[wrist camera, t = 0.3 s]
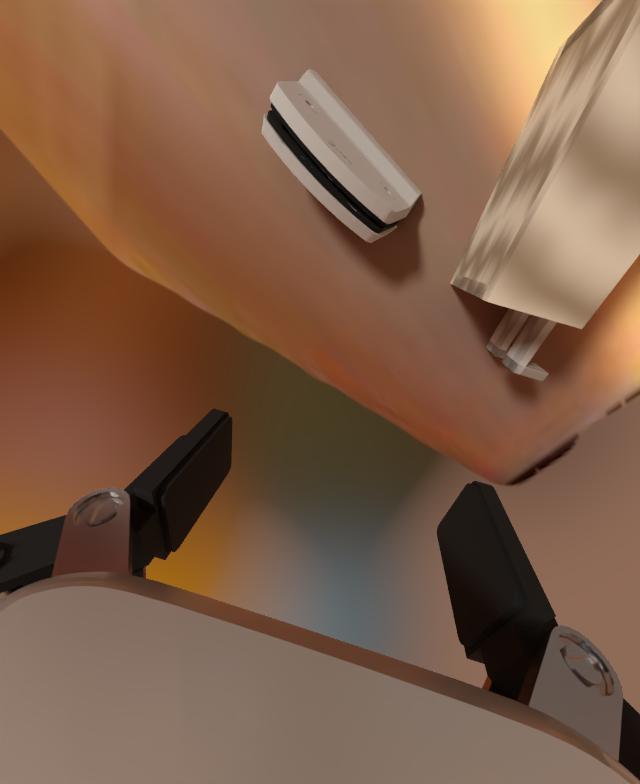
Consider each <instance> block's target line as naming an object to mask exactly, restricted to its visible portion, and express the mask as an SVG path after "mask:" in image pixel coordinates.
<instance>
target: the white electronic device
mask: <svg viewBox="0 0 640 784" xmlns="http://www.w3.org/2000/svg"><path fill="white" fill-rule="evenodd" d="M270 100H271V102H272V103H271V108H272V110H271V111H269V112H268V113H267V114H264V119H263V126H262V134H263V136H264V137H265V139H266V140H267V141H268V143H269V144H270V146H271V147H272V148H273V149H274V151H275V152H276V153H277V155H278V156H279V157H280V158H281V160H282V161H283V162H284V163H285V164H286V166H287V167H288V168H289V169H290V170H291V172H292V173H293V174H294V175H295V176H296V177H297V178H298V179H299V181H300V182H301V183H302V184H303V185H304V186H305V187H306V188H307V189H308V190H309V191H310V192H311V193H312V194H313V195H314V196H315V197H316V198H317V199H318V200H319V201H320V202H321V203H322V204H323V205H324V206H325V207H326V208H327V209H328V210H329V211H330V212H331V213H332V214H334V215H335V216H336V217H337V218H338V219H339V220H340V221H341V222H343V223H344V224H345V225H346V226H347V227H348V228H350V229H351V230H352V231H353V232H355V233H356V234H357V235H358V236H360V237H361V238H362V239H363V240H365V241H366V242H368V243H372V242H374V241H376V240H378V239H380V238H382V237H384V236H386V235H388V234H389V233H391V232H392V231H393V230H394V229H396V228H397V227H398V226H397V225H396V224H397V223H398V220H400V219H403V218H405V217H407V215H408V213H409V212H410V210H411V209H412V207H413V205H414V204H415V202H416V201H417V199H418V198H419V197H420V195H421V191H420V190H419V189H418V188H417V187H416V186H415V185H414V183H413V182H412V181H411V180H410V179H409V178H408V177H407V175H406V174H405V173H404V172H403V171H402V170H401V169H400V167H399V166H398V165H397V164H396V163H395V162H394V161H393V159H392V158H391V157H390V156H389V155H388V154H387V153H386V151H385V150H384V149H383V148H382V147H381V146H380V145H379V143H378V142H377V141H376V140H375V139H374V138H373V137H372V135H371V134H370V133H369V132H368V131H367V130H366V129H365V127H364V126H363V125H362V124H361V123H360V122H359V121H358V119H357V118H356V117H355V116H354V115H353V114H352V113H351V111H350V110H349V109H348V108H347V107H346V106H345V105H344V103H343V102H342V101H341V100H340V99H339V98H338V97H337V95H336V94H335V93H334V92H333V91H332V90H331V89H330V87H329V86H328V85H327V84H326V83H325V82H324V81H323V79H322V78H321V77H320V76H319V75H318V74H317V73H316V71H313V70H310V69H308V70H307V71H306V72H305V73H304V75H303V76H302V77H301V78H300V80H299V81H295V82H277V84H276V86H275V88H274V90H273V92H272V94H271V96H270Z"/></svg>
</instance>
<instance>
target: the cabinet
mask: <svg viewBox="0 0 640 784" xmlns="http://www.w3.org/2000/svg"><path fill="white" fill-rule="evenodd" d="M639 255H640V0H603V1H602V2H601V3H600V4H599V5H598V6H597V7H596V8H595V9H594V10H593V12H592V13H591V14H590V15H589V16H588V17H587V18H586V19H585V20H584V21H583V23H582V24H581V25H580V26H579V27H578V28H577V29H576V30H575V31H574V32H573V34H572V35H571V36H570V37H569V38H568V39H567V40H566V41H565V42H564V43H563V45H562V46H561V47H560V48H559V50H558V53H557V55H556V57H555V59H554V61H553V63H552V65H551V68H550V70H549V72H548V74H547V76H546V78H545V81H544V83H543V85H542V87H541V89H540V91H539V93H538V96H537V98H536V100H535V102H534V104H533V106H532V108H531V111H530V113H529V115H528V117H527V119H526V121H525V123H524V126H523V128H522V130H521V132H520V134H519V136H518V138H517V141H516V143H515V145H514V147H513V149H512V151H511V154H510V156H509V158H508V160H507V162H506V164H505V166H504V169H503V171H502V173H501V175H500V177H499V179H498V181H497V184H496V186H495V188H494V190H493V192H492V194H491V196H490V199H489V201H488V203H487V205H486V207H485V209H484V211H483V214H482V216H481V218H480V220H479V222H478V224H477V227H476V229H475V231H474V233H473V235H472V237H471V239H470V242H469V244H468V246H467V248H466V250H465V252H464V254H463V257H462V259H461V261H460V263H459V265H458V267H457V269H456V272H455V274H454V276H453V278H452V280H451V282H450V284H452V285H454V286H456V287H458V288H460V289H462V290H464V291H466V292H468V293H470V294H472V295H474V296H476V297H478V298H480V299H482V300H484V301H486V302H489V303H493V304H496V305H500V306H503V307H507V308H508V310H507V312H506V313H505V315H504V317H503V318H502V320H501V322H500V323H499V325H498V327H497V328H496V330H495V332H494V333H493V335H492V337H491V338H490V340H489V342H488V343H487V345H486V348H487V349H488V350H489V351H490V352H491V353H492V354H493V355H494V356H496V357H500V358H503V361H502V363H503V364H504V365H505V366H506V367H507V368H508V369H509V370H511V371H512V372H513V373H516V374H519V375H523V376H526V377H529V378H533V379H536V380H540V381H544V379H545V378H546V377H547V375H548V374H549V373H548V372H546V371H545V370H544V369H542V368H541V367H540V366H538V365H537V364H535V363H533V362H530V360H531V358H532V357H533V356H534V354H535V353H536V351H537V350H538V349H539V347H540V346H541V344H542V343H543V341H544V340H545V339H546V337H547V336H548V334H549V333H550V332H551V330H552V329H553V327H554V326H555V325H556V323H557V322H559V323H562V324H566V325H569V326H573V327H576V328H579V329H583V327H584V326H585V325H587V324H588V322H589V321H590V320H591V319H592V317H593V316H594V315H595V314H594V313H595V312H596V310H597V309H598V308H599V306H600V305H601V304H602V303H603V301H604V300H605V299H606V297H607V296H608V295H609V294H610V292H611V291H612V290H613V288H614V287H615V286H616V284H617V283H618V282H619V281H620V279H621V278H622V277H623V275H624V274H625V273H626V271H627V270H628V269H629V268H630V266H631V265H632V264H633V262H634V261H635V260H636V259H637V257H638V256H639ZM530 314H531V315H532V316H531V318H530V319H529V321H528V322H527V324H526V326H525V327H524V329H523V330H522V332H521V333H520V335H519V336H518V338H517V339H516V341H515V342H514V344H513V345H512V347H511V346H510V344H511V342H512V341H513V339H514V338H515V336H516V335H517V333H518V332H519V330H520V329H521V327H522V326H523V324H524V322H525V321H526V319H527V318H528V316H529V315H530Z"/></svg>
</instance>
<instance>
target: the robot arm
mask: <svg viewBox="0 0 640 784" xmlns="http://www.w3.org/2000/svg"><path fill="white" fill-rule="evenodd" d="M231 452H232V418H231V417H229V414H228V413H227V412H224V411H220V410H216V409H212V410H211V411H210V412H209V413H208V414H207V415H206V416H205V417H204V418H203V419H202V420H201V421H200V422H199V423H198V424H197V425H196V426H195V427H194V428H193V429H192V430H191V431H190V432H189V433H188V434H187V435H183V436H181V437H180V438H178V439H177V440H176V441H175V442H174V443H173V444H172V445H171V446H169V447H168V448H167V449H166V450H165V451H164V452H163V453H162V454H161V455H160V456H159V457H158V458H157V459H156V460H155V461H154V462H153V463H152V464H151V465H150V466H149V467H147V469H145V470H144V471H143V472H142V473H141V474H140V475H139V476H138V477H137V478H136V479H135V480H134V481H133V482H132V483H131V484H130V485H129V486H128V487H127V488H126V489H124V490H122V489H119V488H104V489H100V490H97V491H94V492H91V493H89V494H87V495H85V496H84V497H82V498H81V499H79V500H78V501H77V502H75V503H74V504H73V506H72V507H71V508H70V509H69V511H68V513H67V515H64V516H61V517H58V518H55V519H51V520H48V521H45V522H41V523H38V524H35V525H31V526H28V527H25V528H22V529H19V530H15V531H12V532H9V533H6V534H2V535H0V784H640V714H639V713H638V712H637V711H636V710H635V709H634V708H633V707H632V706H631V705H629V703H628V702H626V701H625V699H623V692H622V686H621V684H620V681H619V679H618V676H617V674H616V672H615V671H614V669H613V667H612V666H611V665H610V663H609V661H608V660H607V659H606V657H605V656H604V655H603V654H602V653H601V651H600V650H599V649H598V648H597V647H596V646H595V645H594V644H593V643H592V642H591V641H590V640H589V639H587V638H586V637H585V636H583V635H582V634H581V633H579V632H578V631H576V630H574V629H572V628H570V627H566V626H558V624H557V622H556V620H555V618H554V617H555V616H556V615H555V614H554V611H553V609H552V607H551V605H550V603H549V601H548V599H547V597H546V595H545V593H544V590H543V588H542V586H541V584H540V582H539V580H538V578H537V576H536V574H535V572H534V570H533V568H532V566H531V564H530V561H529V559H528V558H527V555H526V553H525V551H524V549H523V547H522V545H521V543H520V541H519V539H518V537H517V535H516V533H515V531H514V528H513V526H512V524H511V522H510V520H509V518H508V516H507V514H506V512H505V510H504V508H503V506H502V503H501V501H500V499H499V497H498V495H497V493H496V491H495V489H494V488H493V486H491V485H488V484H484V483H481V482H477V481H474V482H472V483H471V484H467V485H466V486H465V487H464V489H463V490H462V492H461V493H460V495H459V496H458V498H457V499H456V500H455V502H454V503H453V505H452V506H451V508H450V509H449V511H448V512H447V514H446V515H445V516H444V518H443V519H442V521H441V522H440V524H439V526H438V529H437V536H438V541H439V546H440V551H441V556H442V560H443V565H444V570H445V575H446V580H447V585H448V590H449V595H450V599H451V605H452V609H453V614H454V619H455V624H456V628H457V634H458V637H459V641H460V643H461V644H462V645H464V647H465V652H466V656H467V658H468V659H471V660H474V661H477V662H480V663H483V664H485V667H486V671H487V675H488V676H487V678H486V680H485V683H484V685H483V687H482V689H481V688H479V687H476V686H473V685H470V684H467V683H465V682H462V681H459V680H456V679H453V678H450V677H447V676H444V675H441V674H438V673H435V672H433V671H430V670H427V669H424V668H421V667H418V666H415V665H412V664H409V663H406V662H403V661H400V660H397V659H394V658H391V657H388V656H385V655H382V654H379V653H376V652H373V651H370V650H367V649H364V648H361V647H358V646H355V645H352V644H349V643H346V642H343V641H340V640H337V639H334V638H331V637H328V636H325V635H322V634H319V633H316V632H313V631H310V630H307V629H304V628H301V627H298V626H295V625H292V624H289V623H286V622H283V621H280V620H277V619H274V618H271V617H268V616H265V615H261V614H258V613H255V612H252V611H249V610H246V609H243V608H240V607H237V606H234V605H230V604H228V603H225V602H222V601H218V600H215V599H212V598H209V597H206V596H203V595H200V594H196V593H193V592H190V591H186V590H183V589H180V588H177V587H174V586H170V585H167V584H163V583H160V582H157V581H154V580H149V579H146V566H147V565H149V563H150V562H151V561H152V559H153V558H154V557H157V558H160V559H163V560H166V558H167V557H168V555H169V554H170V552H171V551H172V552H175V551H176V550H177V549H178V548H179V547H180V545H181V544H182V542H183V541H184V539H185V538H186V536H187V535H188V533H189V532H190V530H191V529H192V527H193V526H194V524H195V523H196V521H197V519H198V518H199V517H200V515H201V513H202V512H203V511H204V509H205V508H206V506H207V505H208V503H209V502H210V500H211V498H212V497H213V495H214V494H215V492H216V491H217V489H218V488H219V486H220V485H221V483H222V482H223V480H224V479H225V477H226V476H227V474H228V473H229V471H230V468H231Z"/></svg>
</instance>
